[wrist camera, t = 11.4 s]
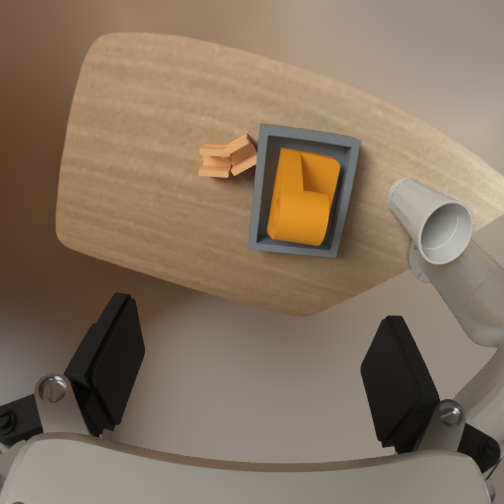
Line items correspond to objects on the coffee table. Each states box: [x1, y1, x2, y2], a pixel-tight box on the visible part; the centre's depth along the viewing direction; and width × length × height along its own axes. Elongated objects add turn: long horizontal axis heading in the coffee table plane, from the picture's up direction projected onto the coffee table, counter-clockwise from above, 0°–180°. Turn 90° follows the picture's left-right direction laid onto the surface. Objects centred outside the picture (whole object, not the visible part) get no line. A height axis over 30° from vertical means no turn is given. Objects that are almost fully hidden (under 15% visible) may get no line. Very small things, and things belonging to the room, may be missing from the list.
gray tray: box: [248, 124, 361, 258], centre depth 38 cm, size 12×16×4 cm
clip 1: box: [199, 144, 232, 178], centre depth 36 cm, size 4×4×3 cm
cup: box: [388, 177, 473, 264], centre depth 34 cm, size 8×8×12 cm
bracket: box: [267, 147, 340, 246], centre depth 33 cm, size 11×7×12 cm
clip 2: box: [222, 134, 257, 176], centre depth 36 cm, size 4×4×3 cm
